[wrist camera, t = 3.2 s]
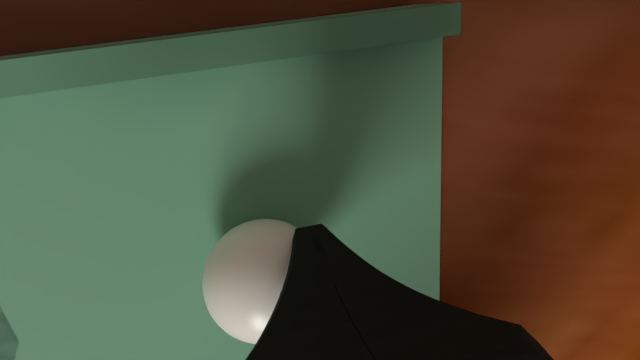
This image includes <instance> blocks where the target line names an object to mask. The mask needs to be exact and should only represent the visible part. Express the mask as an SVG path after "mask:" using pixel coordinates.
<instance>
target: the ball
mask: <svg viewBox="0 0 640 360" xmlns="http://www.w3.org/2000/svg"><path fill="white" fill-rule="evenodd" d="M296 228H297V227H295V226H293V225H291V224H289V223H286V222H284V221H280V220H275V219H257V220H252V221H248V222H245V223H242V224H240V225H238V226H236V227H234V228H233V229H231V230H230V231H228V232H227V233H226V234H225V235H224V236H222V237H221V239H220V240H219V241H218V242H217V243H216V244H215V246H214V247H213V249H212V251H211V252H210V254H209V256H208V259H207V261H206V264H205V267H204V272H203V278H202V290H203V296H204V300H205V303H206V306H207V309H208V311H209V313H210V315H211V317H212V318H213V320H214V321H215V322H216V323H217V324H218V326H219V327H220V328H222V329H223V330H224V331H225V332H226V333H227V334H229V335H230V336H232V337H234V338H236V339H238V340H241V341H243V342H247V343H252V344H256V343H257V341H258V339H259V338H260V336H261V334H262V332H263V331H264V329H265V327H266V325H267V323H268V321H269V319H270V317H271V315H272V313H273V310H274V308H275V306H276V303H277V301H278V298H279V296H280V293H281V290H282V287H283V284H284V281H285V278H286V274H287V271H288V266H289V262H290V257H291V250H292V239H293V236H294V232H295V229H296Z"/></svg>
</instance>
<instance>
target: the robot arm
mask: <svg viewBox="0 0 640 360" xmlns="http://www.w3.org/2000/svg"><path fill="white" fill-rule="evenodd" d="M246 360H553V358H552V357H551V356H550V355H549V354H548V353H547V351H546V350H545V349H544V348H543V347H542V346H541V345H540V344H539V343H538V341H537V340H535V339H534V338H533V337H532V336H531V335H530V334H529V333H528V332H527V331H526V330H525V329H524V328H523V327H522V326H521V325H518V324H514V323H510V322H506V321H502V320H499V319H495V318H491V317H487V316H483V315H479V314H476V313H473V312H470V311H467V310H464V309H461V308H458V307H455V306H452V305H449V304H446V303H444V302H441V301H438V300H436V299H434V298H431V297H429V296H427V295H424V294H422V293H420V292H418V291H415V290H413V289H411V288H409V287H407V286H405V285H403V284H402V283H400V282H398V281H396V280H394V279H393V278H391V277H389V276H387V275H386V274H384V273H382V272H381V271H379V270H378V269H376V268H375V267H373V266H372V265H371V264H369V263H368V262H366V261H365V260H364V259H362V258H361V257H360V256H359V255H357V254H356V253H355V252H353V251H352V250H351V249H350V248H349V247H347V246H346V245H345V244H344V243H343V242H342V241H340V240H339V239H338V238H337V237H336V236H335V235H334V234H333V233H332V232H331V231H330V230H329V229H328V228H327V227H326V226H324V225H323V224H317V225H312V226H306V227H301V228H296V229H295V232H294V236H293V239H292V250H291V257H290V262H289V266H288V271H287V274H286V278H285V281H284V284H283V287H282V290H281V293H280V296H279V298H278V301H277V303H276V306H275V308H274V310H273V313H272V315H271V317H270V319H269V321H268V323H267V325H266V327H265V329H264V331H263V332H262V334H261V336H260V338H259V339H258V341H257V343H256V344H255V346H254V347H253V349H252V350H251V352H250V353H249V355H248V357H247V358H246Z"/></svg>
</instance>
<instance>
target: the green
mask: <svg viewBox="0 0 640 360" xmlns="http://www.w3.org/2000/svg"><path fill="white" fill-rule="evenodd" d="M461 4H462V2H454V3H434V4H415V5H406V6H398V7H390V8H382V9H374V10H366V11H358V12H350V13H342V14H334V15H326V16H318V17H310V18H302V19H294V20H286V21H278V22H270V23H262V24H254V25H246V26H238V27H230V28H222V29H214V30H206V31H198V32H190V33H182V34H174V35H166V36H158V37H150V38H142V39H134V40H126V41H118V42H110V43H102V44H94V45H86V46H78V47H70V48H62V49H54V50H46V51H38V52H30V53H22V54H14V55H6V56H0V360H246V358H247V357H248V355H249V353H250V352H251V350H252V349H253V347H254V346H255V344H252V343H247V342H243V341H241V340H238V339H236V338H234V337H232V336H230V335H229V334H227V333H226V332H225V331H224V330H223V329H222V328H220V327H219V326H218V324H217V323H216V322H215V321H214V320H213V318H212V317H211V315H210V313H209V311H208V309H207V306H206V303H205V300H204V296H203V290H202V278H203V272H204V267H205V264H206V261H207V259H208V256H209V254H210V252H211V251H212V249H213V247H214V246H215V244H216V243H217V242H218V241H219V240H220V239H221V237H222V236H224V235H225V234H226V233H227V232H228V231H230V230H231V229H233V228H234V227H236V226H238V225H240V224H242V223H245V222H248V221H252V220H257V219H275V220H280V221H284V222H286V223H289V224H291V225H293V226H295V227H297V228H301V227H306V226H312V225H317V224H323V225H324V226H326V227H327V228H328V229H329V230H330V231H331V232H332V233H333V234H334V235H335V236H336V237H337V238H338V239H339V240H340V241H342V242H343V243H344V244H345V245H346V246H347V247H349V248H350V249H351V250H352V251H353V252H355V253H356V254H357V255H359V256H360V257H361V258H362V259H364V260H365V261H366V262H368V263H369V264H371V265H372V266H373V267H375V268H376V269H378V270H379V271H381V272H382V273H384V274H386V275H387V276H389V277H391V278H393V279H394V280H396V281H398V282H400V283H402V284H403V285H405V286H407V287H409V288H411V289H413V290H415V291H418V292H420V293H422V294H424V295H427V296H429V297H431V298H434V299H436V300H438V301H439V295H440V215H441V134H442V54H443V37H446V36H453V35H460V34H461Z"/></svg>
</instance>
